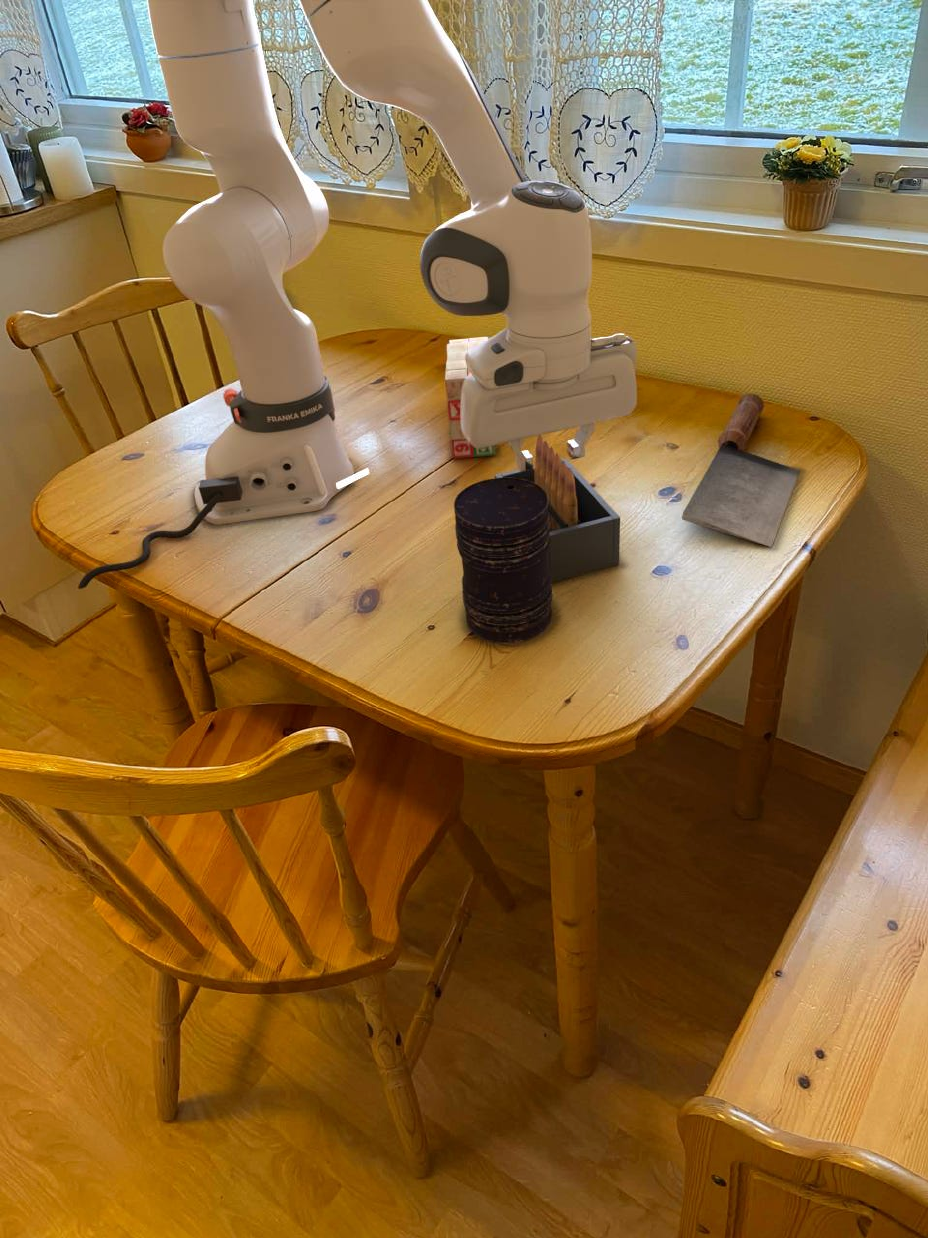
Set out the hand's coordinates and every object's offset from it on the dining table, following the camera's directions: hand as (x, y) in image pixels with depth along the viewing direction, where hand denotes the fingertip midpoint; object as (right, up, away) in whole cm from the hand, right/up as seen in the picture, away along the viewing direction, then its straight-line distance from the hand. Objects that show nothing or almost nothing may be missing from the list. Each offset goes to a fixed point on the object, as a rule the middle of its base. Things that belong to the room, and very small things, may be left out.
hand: (550, 462), depth 108 cm
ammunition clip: (+1, -8, +6) cm, 11 cm away
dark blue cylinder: (-5, -18, -4) cm, 19 cm away
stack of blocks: (-8, +11, +34) cm, 36 cm away
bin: (+1, -9, +7) cm, 11 cm away
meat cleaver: (+28, +1, +16) cm, 32 cm away
